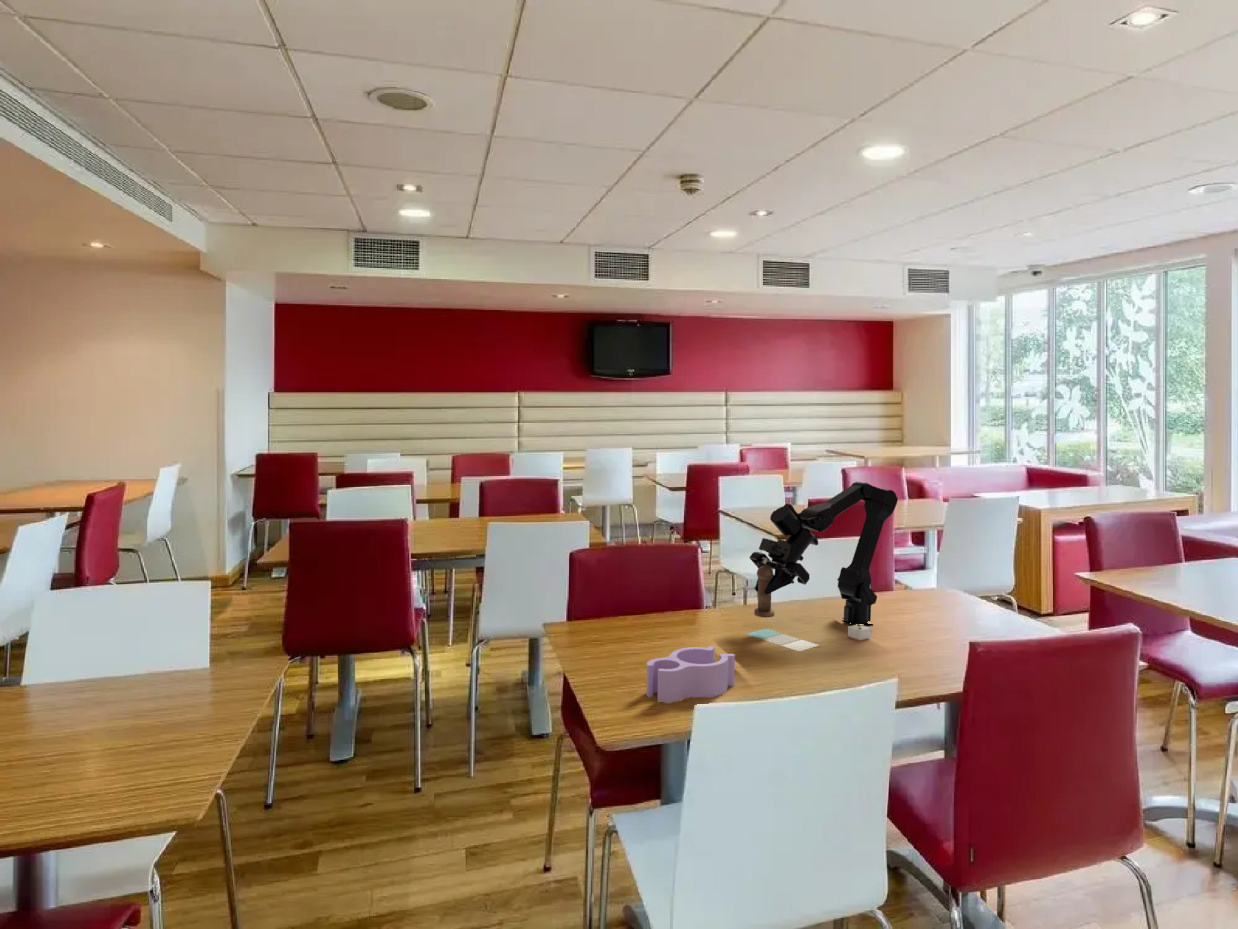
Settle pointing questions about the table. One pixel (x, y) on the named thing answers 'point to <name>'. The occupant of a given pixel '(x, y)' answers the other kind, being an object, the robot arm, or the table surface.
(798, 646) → the board
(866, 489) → the robot arm
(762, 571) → the pawn
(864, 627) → the die
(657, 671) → the clip
